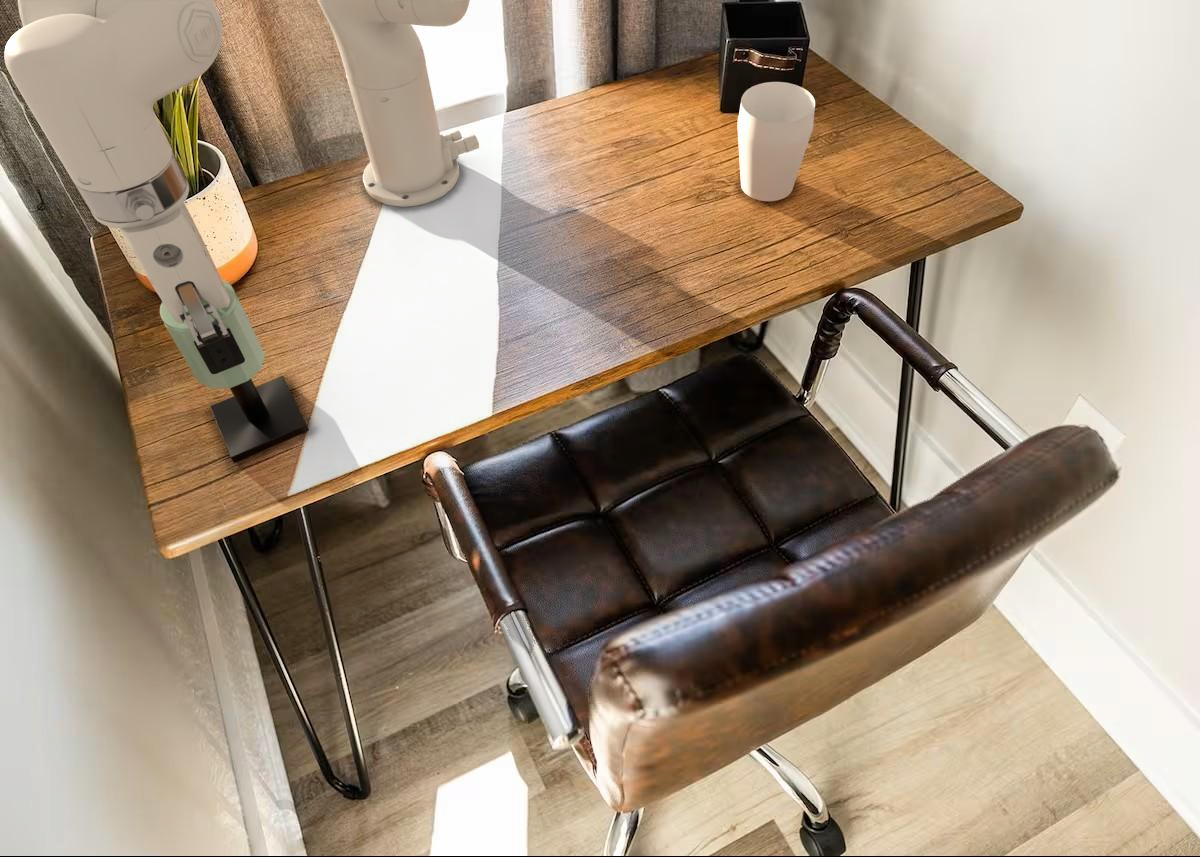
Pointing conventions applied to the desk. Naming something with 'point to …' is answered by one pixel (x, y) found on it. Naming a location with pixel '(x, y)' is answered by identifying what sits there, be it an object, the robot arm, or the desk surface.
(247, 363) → the upturned cup
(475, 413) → the desk surface
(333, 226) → the desk surface
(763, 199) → the cup
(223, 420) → the peg
